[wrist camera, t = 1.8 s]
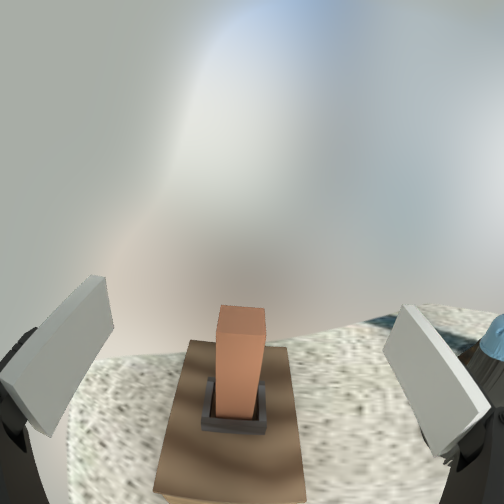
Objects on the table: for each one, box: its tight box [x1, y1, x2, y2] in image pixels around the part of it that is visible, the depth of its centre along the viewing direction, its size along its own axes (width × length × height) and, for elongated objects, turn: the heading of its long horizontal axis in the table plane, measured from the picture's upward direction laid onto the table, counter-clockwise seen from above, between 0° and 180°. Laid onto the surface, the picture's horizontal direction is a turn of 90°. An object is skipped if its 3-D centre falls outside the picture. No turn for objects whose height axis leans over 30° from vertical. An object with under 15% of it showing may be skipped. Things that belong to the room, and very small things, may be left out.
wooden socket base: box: [153, 340, 307, 504], centre depth 29 cm, size 25×15×11 cm, turn 0°
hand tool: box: [457, 339, 481, 366], centre depth 45 cm, size 19×4×5 cm, turn 105°
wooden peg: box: [216, 305, 266, 421], centre depth 25 cm, size 4×4×14 cm
